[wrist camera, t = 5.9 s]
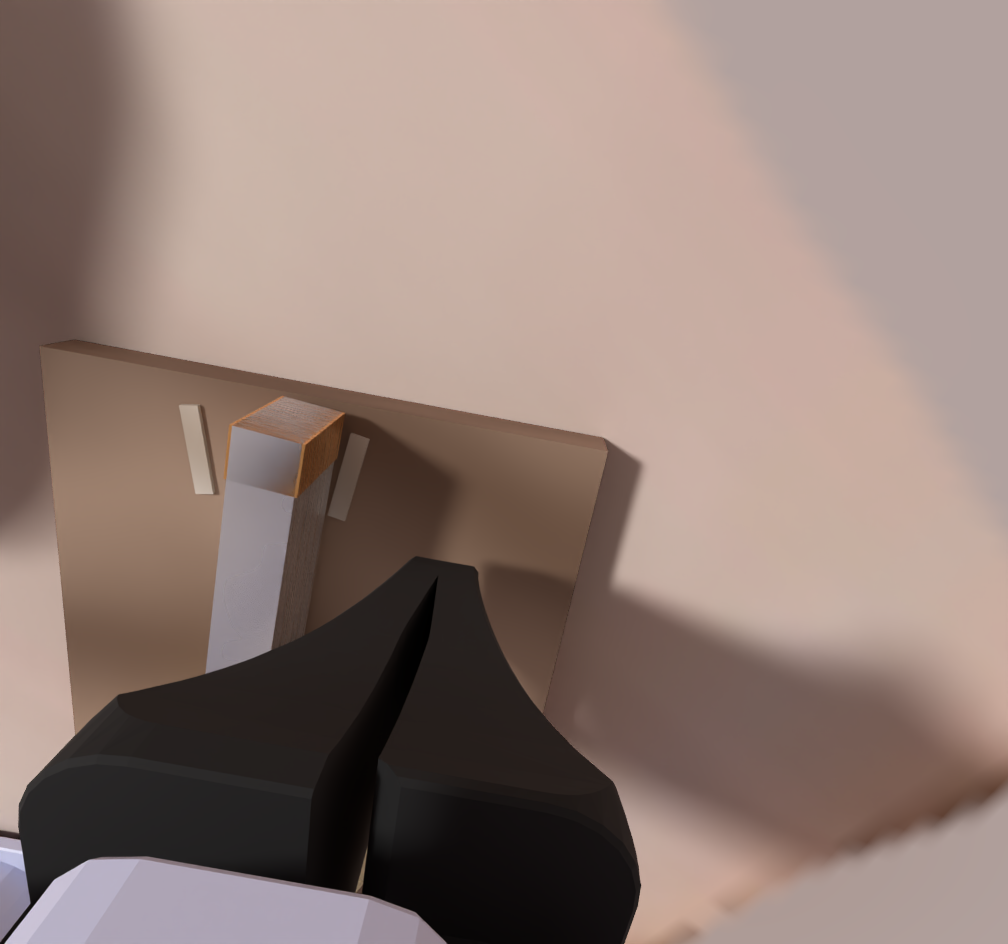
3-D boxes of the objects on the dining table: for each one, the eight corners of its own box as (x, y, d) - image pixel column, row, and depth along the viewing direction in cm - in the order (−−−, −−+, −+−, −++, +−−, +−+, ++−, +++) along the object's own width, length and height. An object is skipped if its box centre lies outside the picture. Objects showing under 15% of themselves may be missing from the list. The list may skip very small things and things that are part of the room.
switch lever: (360, 907, 17) (334, 1004, 15) (121, 850, 17) (58, 940, 15) (482, 446, 12) (469, 488, 10) (148, 357, 12) (60, 379, 10)
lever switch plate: (486, 915, 19) (483, 953, 18) (111, 848, 19) (86, 882, 18) (603, 437, 13) (608, 453, 12) (74, 339, 13) (35, 346, 12)
